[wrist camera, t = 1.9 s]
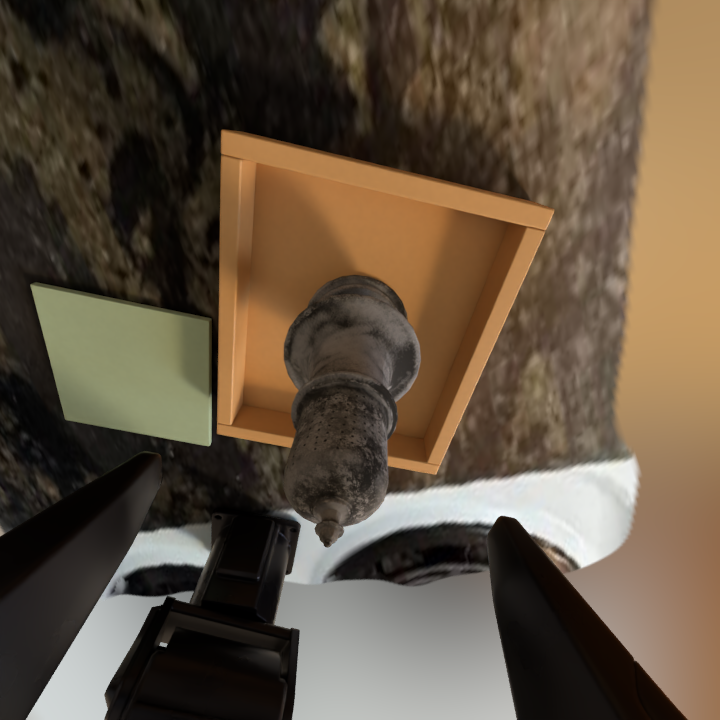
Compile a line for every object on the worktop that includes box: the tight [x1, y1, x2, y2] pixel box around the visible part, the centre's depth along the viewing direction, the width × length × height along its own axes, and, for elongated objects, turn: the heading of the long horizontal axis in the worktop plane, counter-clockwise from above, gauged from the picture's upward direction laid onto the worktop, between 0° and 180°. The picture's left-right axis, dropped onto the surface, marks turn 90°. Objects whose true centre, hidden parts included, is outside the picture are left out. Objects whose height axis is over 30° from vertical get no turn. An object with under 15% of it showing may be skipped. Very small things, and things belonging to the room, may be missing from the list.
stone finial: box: [284, 275, 421, 547], centre depth 13 cm, size 6×6×12 cm
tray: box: [217, 129, 554, 474], centre depth 18 cm, size 15×13×2 cm
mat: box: [30, 282, 212, 446], centre depth 21 cm, size 9×9×1 cm
